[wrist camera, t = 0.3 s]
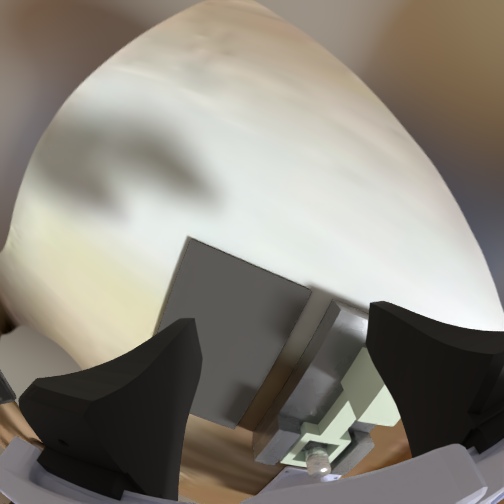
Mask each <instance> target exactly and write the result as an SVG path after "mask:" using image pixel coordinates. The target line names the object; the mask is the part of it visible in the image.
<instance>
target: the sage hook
mask: <svg viewBox="0 0 504 504" xmlns="http://www.w3.org/2000/svg"><path fill="white" fill-rule="evenodd" d="M341 385H342V387H343V389H344V390H343V392H342V393H341V395H340V396H339V397H338V399H337V400H336V401H335V403H334V404H333V406H332V407H331V408H330V410H329V411H328V412H327V414H326V415H325V416H324V417H323V419H322V420H321V421H320V423H319V424H318V425H317V424H312V423H308V422H304V423H303V424H302V425H301V426H300V430H301V436H300V437H299V438H298V439H297V440H296V442H295V443H294V444H293V445H292V446H291V447H290V449H289V450H288V451H287V452H286V453H285V454H284V455H283V457H282V458H281V459H280V463H284V464H290V465H295V466H301V467H307V465H306V459H305V453H304V452H303V451H301V449H302V448H303V447H304V446H305V445H306V444H307V443H308V441H309V440H312V441H317V442H322V443H328V445H327V446H326V450H327V454H328V458H329V462H330V463H331V462H332V461H333V460H334V459H335V458H336V457H337V456H338V455H339V454H340V453H341V452H342V451H343V450H344V449H345V448H346V446H347V445H348V444H349V443H350V442H351V438H350V435H349V432H348V431H347V430H348V428H349V427H350V426H351V425H352V424H353V422H354V421H355V420H356V419H357V421H360V422H366V423H372V424H378V425H385V426H394V425H395V424H396V423H397V421H398V420H399V419H400V418H401V417H400V414H399V412H398V409H397V406H396V404H395V402H394V400H393V398H392V396H391V394H390V393H389V391H388V389H387V387H386V385H385V384H384V382H383V380H382V378H381V377H380V375H379V373H378V371H377V370H376V368H375V366H374V364H373V362H372V360H371V358H370V355H369V353H368V350H367V348H364V347H362V349H361V351H360V352H359V354H358V355H357V357H356V359H355V360H354V362H353V364H352V365H351V367H350V368H349V370H348V371H347V373H346V374H345V376H344V377H343V379H342V380H341Z"/></svg>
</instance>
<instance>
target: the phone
mask: <svg viewBox="0 0 504 504" xmlns="http://www.w3.org/2000/svg"><path fill="white" fill-rule="evenodd" d="M15 399H16V395H15V393H14V391H13V390H12V388H11V387H10V385H9V383H8V382H7V380H6V378H5V377H4V375H3V373H2V372H1V370H0V404H5V403H10V402H13V401H14V400H15Z"/></svg>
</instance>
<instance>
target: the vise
mask: <svg viewBox="0 0 504 504" xmlns="http://www.w3.org/2000/svg"><path fill="white" fill-rule="evenodd" d="M368 318H369V314H368V313H365V312H363V311H360V310H358V309H355V308H353V307H351V306H348V305H346V304H343V303H341V302H339V301H336V300H334V299H333V300H332V302H331V304H330V306H329V308H328V309H327V311H326V313H325V315H324V317H323V319H322V321H321V323H320V325H319V326H318V328H317V330H316V332H315V334H314V336H313V337H312V339H311V341H310V343H309V345H308V346H307V348H306V350H305V352H304V353H303V355H302V357H301V358H300V360H299V362H298V364H297V365H296V367H295V369H294V370H293V372H292V374H291V375H290V377H289V378H288V380H287V382H286V383H285V385H284V387H283V388H282V390H281V391H280V393H279V394H278V396H277V397H276V399H275V401H274V402H273V404H272V405H271V407H270V408H269V410H268V411H267V413H266V414H265V416H264V417H263V419H262V420H261V421H260V423H259V424H258V426H257V427H256V429H255V430H254V432H253V441H252V449H253V450H254V461H255V462H259V463H263V464H268V465H272V466H274V465H275V464H276V463H277V462H278V461H279V460H280V459H281V458H282V457H283V455H284V454H285V453H286V452H287V451H288V450H289V449H290V447H291V446H292V445H293V444H294V443H295V442H296V440H297V439H298V438H299V437H300V436H301V430H300V426H301V425H302V424H303V423H304V422H308V423H312V424H317V425H318V424H319V423H320V421H321V420H322V419H323V417H324V416H325V415H326V414H327V412H328V411H329V410H330V408H331V407H332V406H333V404H334V403H335V401H336V400H337V399H338V397H339V396H340V395H341V393H342V392H343V390H344V389H343V387H342V385H341V380H342V379H343V377H344V376H345V374H346V373H347V371H348V370H349V368H350V367H351V365H352V364H353V362H354V360H355V359H356V357H357V355H358V354H359V352H360V351H361V349H362V347H364V348H367V347H366V344H365V343H366V335H367V327H368ZM375 425H376V424H372V423H366V422H360V421H357V419H356V420H355V421H354V422H353V424H352V425H351V426H350V427H349V428H348V430H347V431H348V432H349V435H350V438H351V442H350V443H349V444H348V445H347V446H346V448H345V449H344V450H343V451H342V452H341V453H340V454H339V455H338V456H337V457H336V458H335V459H334V460H333V461H332V462H331V463H330V462H329V458H328V454H327V450H326V446H327V445H328V443H322V442H317V441H312V440H309V441H308V443H307V444H306V445H305V446H304V447H303V448H302V449H301V451H303V452H304V453H305V459H306V465H307V472H308V476H309V477H311V478H321V477H324V476H327V475H328V474H334V475H346V474H347V473H348V472H349V471H350V470H351V469H352V468H353V467H354V466H355V465H357V464H358V463H359V462H360V461H361V460H362V459H363V458H364V457H365V456H366V455H367V454H368V453H369V452H370V451H371V449H372V448H373V447H374V443H373V441H372V439H371V437H370V434H369V432H370V431H371V430H372V429H373V428H374V427H375Z"/></svg>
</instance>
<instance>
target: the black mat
mask: <svg viewBox="0 0 504 504" xmlns="http://www.w3.org/2000/svg"><path fill="white" fill-rule="evenodd" d="M311 292H312V291H311V290H310V289H308V288H305V287H303V286H301V285H298V284H296V283H293V282H291V281H289V280H286V279H284V278H282V277H279V276H277V275H275V274H272V273H270V272H268V271H265V270H263V269H261V268H258V267H256V266H254V265H251V264H249V263H247V262H244V261H242V260H240V259H237V258H235V257H233V256H230V255H228V254H226V253H224V252H221V251H219V250H217V249H214V248H212V247H210V246H208V245H205V244H203V243H201V242H198V241H196V240H194V239H191V240H190V242H189V245H188V248H187V250H186V253H185V255H184V258H183V261H182V263H181V266H180V269H179V272H178V274H177V277H176V280H175V283H174V285H173V288H172V291H171V294H170V297H169V300H168V302H167V305H166V308H165V311H164V314H163V317H162V320H161V323H160V326H159V329H158V332H157V334H158V333H159V332H160V331H162V330H163V329H165V328H166V327H167V326H169V325H170V324H172V323H173V322H175V321H176V320H178V319H180V318H195V322H196V328H197V333H198V338H199V343H200V347H201V352H202V357H203V361H202V369H201V375H200V380H199V383H198V386H197V390H196V393H195V396H194V400H193V403H192V406H191V409H190V412H189V413H190V414H193V415H195V416H198V417H200V418H203V419H206V420H208V421H211V422H214V423H217V424H220V425H222V426H225V427H228V428H231V429H235V427H236V426H237V424H238V423H239V421H240V420H241V418H242V416H243V415H244V413H245V412H246V410H247V408H248V407H249V405H250V403H251V402H252V400H253V399H254V397H255V395H256V394H257V392H258V390H259V389H260V387H261V385H262V383H263V382H264V380H265V378H266V377H267V375H268V373H269V371H270V370H271V368H272V366H273V364H274V363H275V361H276V359H277V357H278V355H279V354H280V352H281V350H282V348H283V346H284V344H285V343H286V341H287V339H288V337H289V335H290V333H291V331H292V330H293V328H294V326H295V324H296V322H297V320H298V318H299V316H300V314H301V312H302V310H303V308H304V306H305V304H306V302H307V300H308V298H309V296H310V294H311Z"/></svg>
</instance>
